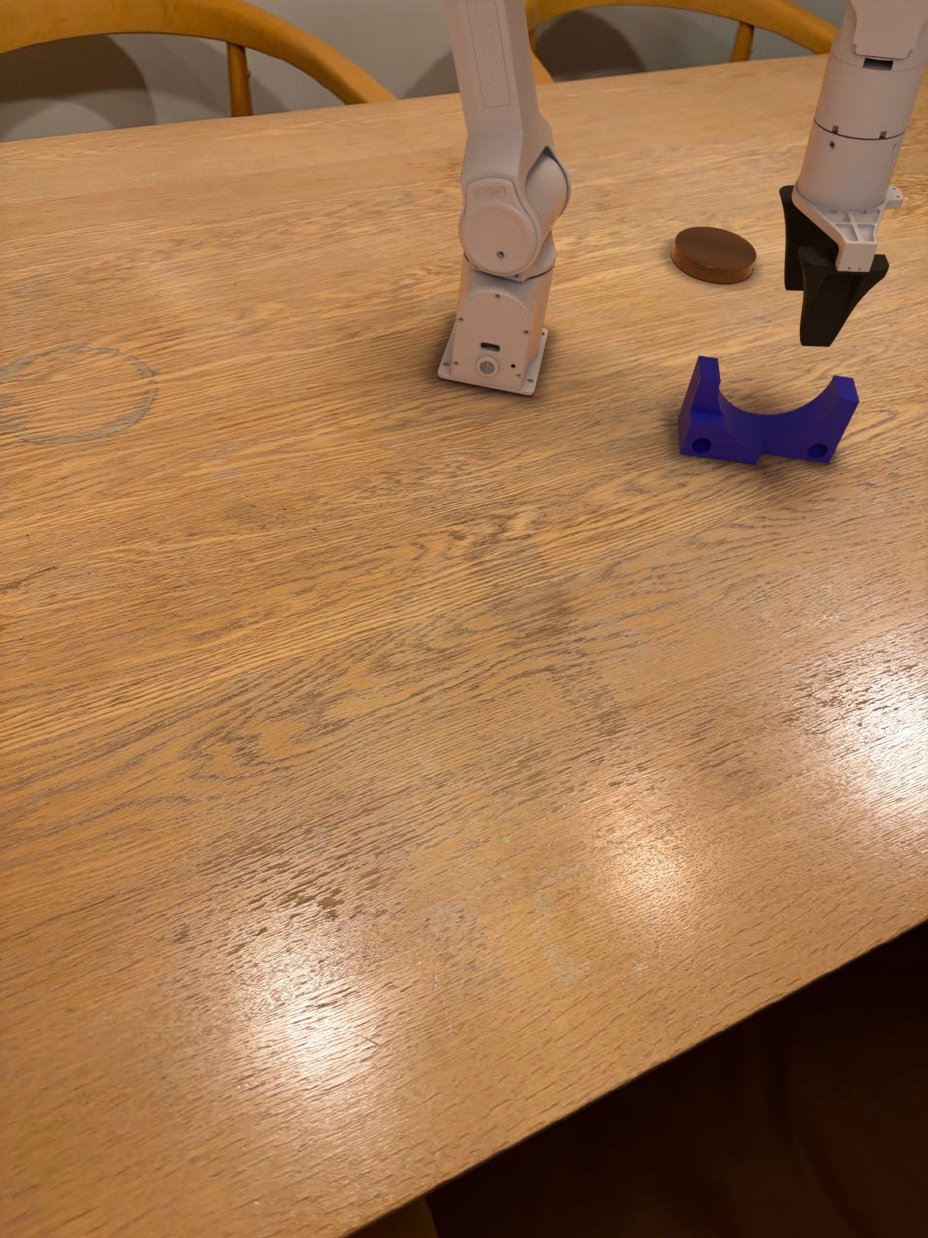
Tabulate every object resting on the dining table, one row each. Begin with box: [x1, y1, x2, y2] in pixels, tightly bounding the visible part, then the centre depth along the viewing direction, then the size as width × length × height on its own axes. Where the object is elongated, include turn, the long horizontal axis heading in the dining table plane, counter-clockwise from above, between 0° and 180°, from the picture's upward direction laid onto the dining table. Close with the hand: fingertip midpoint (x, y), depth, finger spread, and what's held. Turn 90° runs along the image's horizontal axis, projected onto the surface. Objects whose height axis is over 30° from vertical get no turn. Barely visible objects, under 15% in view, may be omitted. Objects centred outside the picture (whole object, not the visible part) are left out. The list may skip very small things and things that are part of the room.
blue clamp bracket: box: [677, 355, 860, 465], centre depth 76 cm, size 12×4×6 cm, turn 84°
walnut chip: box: [670, 225, 757, 284], centre depth 97 cm, size 8×8×2 cm
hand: (806, 315), depth 73 cm, fingers open, 7 cm apart
